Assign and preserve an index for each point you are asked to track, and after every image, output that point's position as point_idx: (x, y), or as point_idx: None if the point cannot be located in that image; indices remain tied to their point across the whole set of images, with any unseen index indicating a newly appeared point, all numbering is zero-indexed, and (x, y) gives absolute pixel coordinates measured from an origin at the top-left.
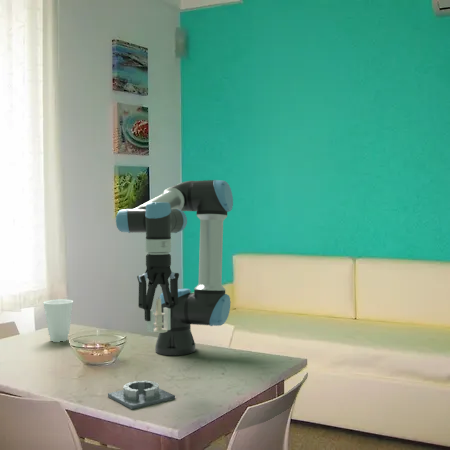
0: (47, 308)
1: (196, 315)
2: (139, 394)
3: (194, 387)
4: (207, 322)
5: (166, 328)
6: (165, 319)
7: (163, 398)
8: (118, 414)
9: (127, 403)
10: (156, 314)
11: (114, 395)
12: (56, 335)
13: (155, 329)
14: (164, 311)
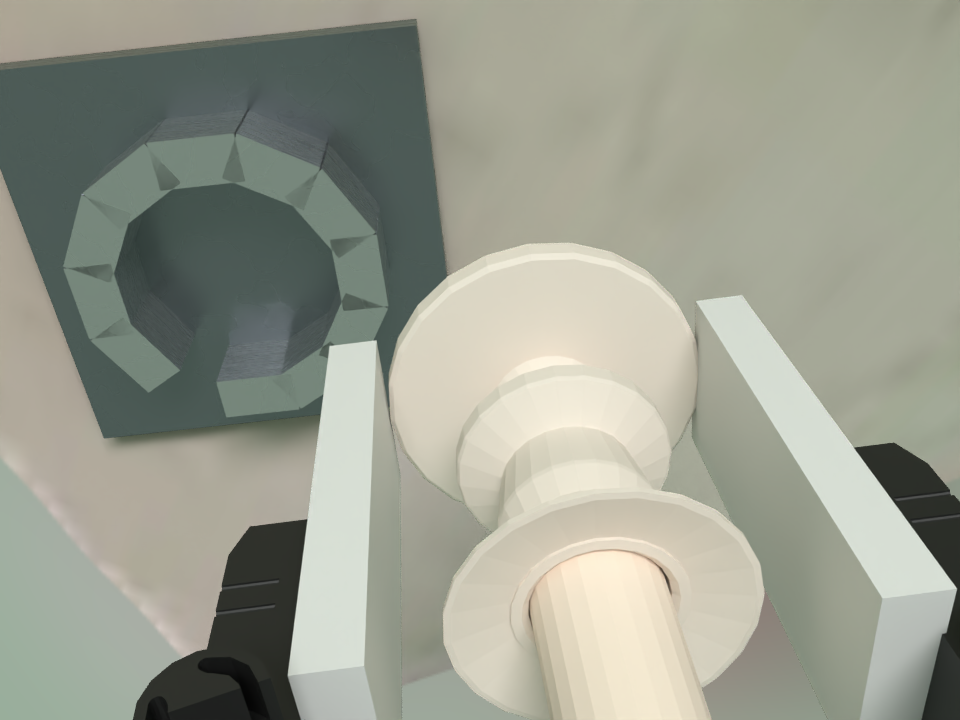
0: None
1: None
2: (228, 248)
3: (728, 232)
4: None
5: (697, 399)
6: (754, 470)
7: None
8: (6, 454)
9: (85, 384)
10: (530, 624)
11: (16, 165)
12: None
13: (487, 390)
14: (829, 561)
